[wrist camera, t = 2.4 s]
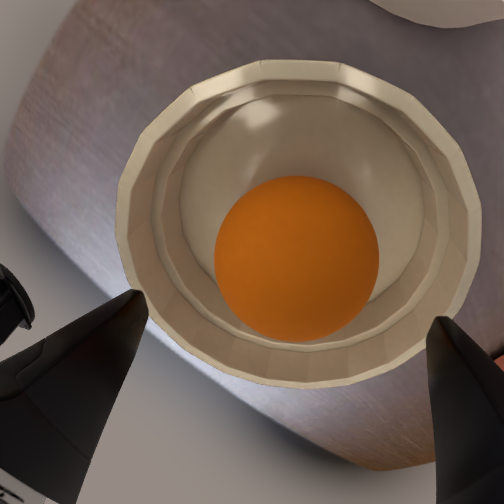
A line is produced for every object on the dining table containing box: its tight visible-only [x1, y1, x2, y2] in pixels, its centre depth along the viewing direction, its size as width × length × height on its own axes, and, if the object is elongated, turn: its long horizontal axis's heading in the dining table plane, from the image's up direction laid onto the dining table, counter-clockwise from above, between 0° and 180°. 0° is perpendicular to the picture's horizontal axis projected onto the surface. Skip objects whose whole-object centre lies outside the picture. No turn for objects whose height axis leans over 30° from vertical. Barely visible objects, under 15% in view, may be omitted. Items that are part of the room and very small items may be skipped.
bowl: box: [115, 60, 482, 390], centre depth 12 cm, size 14×14×4 cm
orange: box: [214, 176, 379, 342], centre depth 11 cm, size 6×6×6 cm
